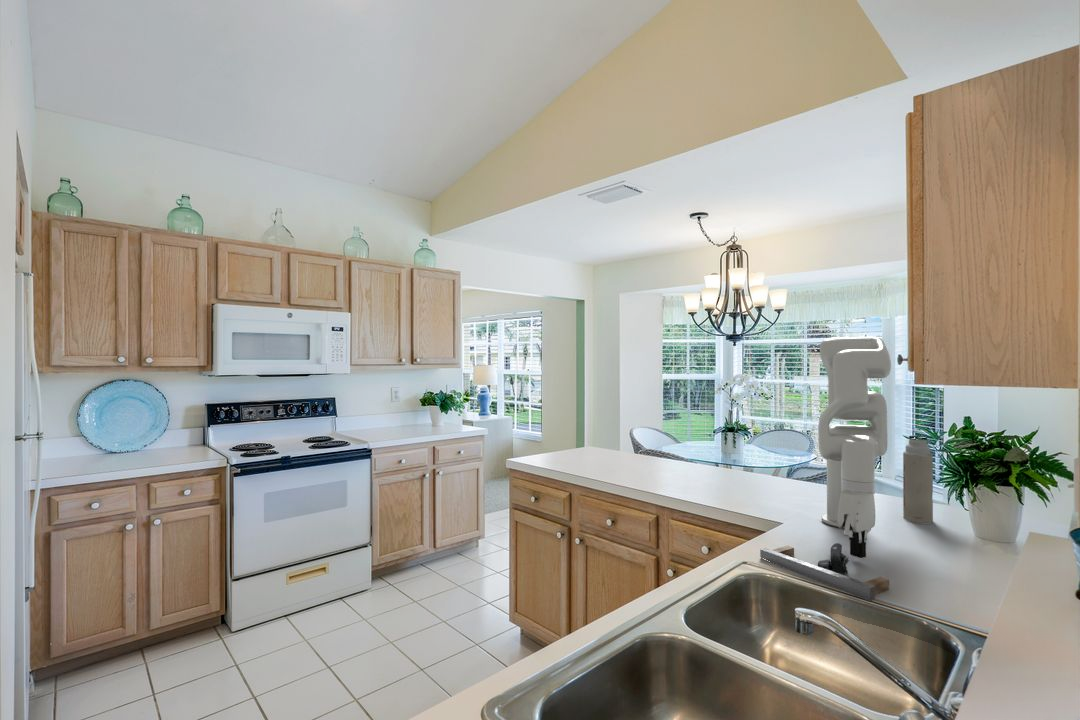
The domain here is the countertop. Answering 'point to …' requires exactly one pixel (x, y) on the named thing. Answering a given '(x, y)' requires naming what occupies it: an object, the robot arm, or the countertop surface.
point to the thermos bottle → (918, 482)
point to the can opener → (835, 560)
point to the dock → (825, 574)
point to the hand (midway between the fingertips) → (857, 555)
